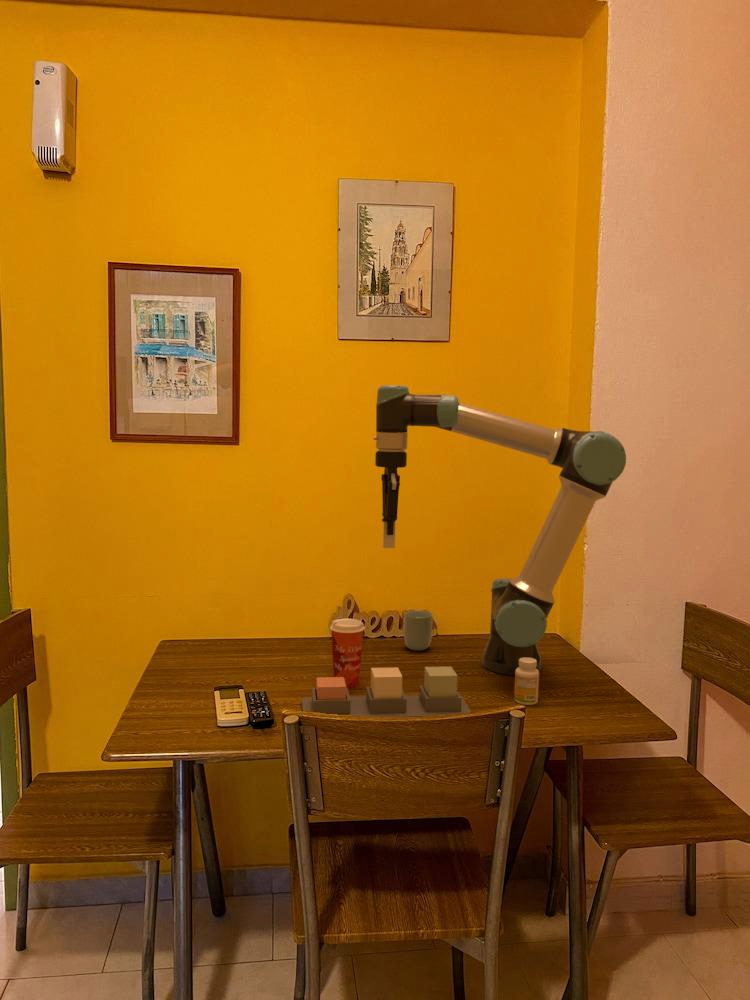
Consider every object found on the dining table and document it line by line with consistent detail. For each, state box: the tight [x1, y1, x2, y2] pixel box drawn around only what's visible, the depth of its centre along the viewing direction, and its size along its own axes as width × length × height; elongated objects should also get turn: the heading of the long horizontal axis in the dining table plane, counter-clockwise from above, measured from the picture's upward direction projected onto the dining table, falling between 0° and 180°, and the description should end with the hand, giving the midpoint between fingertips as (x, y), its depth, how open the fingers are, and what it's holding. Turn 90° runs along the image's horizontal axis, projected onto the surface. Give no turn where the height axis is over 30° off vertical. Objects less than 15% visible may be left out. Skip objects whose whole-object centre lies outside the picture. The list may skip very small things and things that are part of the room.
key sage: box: [423, 666, 458, 697], centre depth 163 cm, size 6×6×5 cm
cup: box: [403, 609, 434, 652], centre depth 207 cm, size 8×8×10 cm
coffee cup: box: [329, 617, 366, 688], centre depth 178 cm, size 8×8×15 cm
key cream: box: [370, 667, 403, 699], centre depth 162 cm, size 6×6×5 cm
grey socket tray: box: [301, 685, 472, 717], centre depth 162 cm, size 36×12×4 cm, turn 97°
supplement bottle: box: [513, 657, 540, 706], centre depth 170 cm, size 5×5×10 cm
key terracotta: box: [315, 676, 346, 700], centre depth 160 cm, size 6×6×5 cm
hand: (388, 547), depth 181 cm, fingers closed
